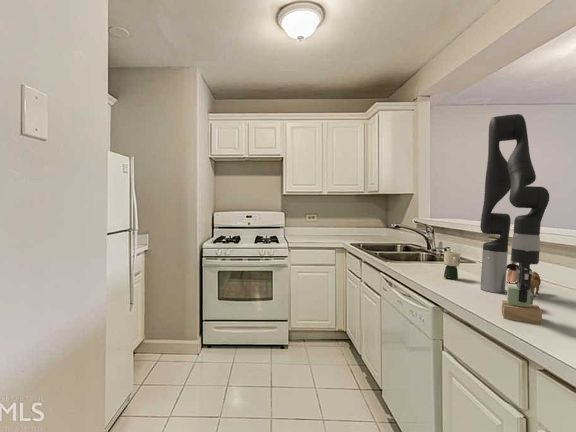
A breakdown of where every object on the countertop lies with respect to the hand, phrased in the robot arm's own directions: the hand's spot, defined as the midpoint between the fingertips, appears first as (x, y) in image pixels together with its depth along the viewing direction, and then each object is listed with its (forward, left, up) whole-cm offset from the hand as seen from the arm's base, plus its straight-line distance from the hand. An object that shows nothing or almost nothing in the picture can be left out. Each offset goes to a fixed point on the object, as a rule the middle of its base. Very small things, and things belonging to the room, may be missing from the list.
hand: (521, 300), depth 114 cm
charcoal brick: (-15, +3, -6) cm, 16 cm away
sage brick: (0, -1, -2) cm, 2 cm away
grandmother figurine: (-61, +3, -6) cm, 62 cm away
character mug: (-53, -23, -6) cm, 58 cm away
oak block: (0, 0, -6) cm, 6 cm away
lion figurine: (-41, +8, -6) cm, 42 cm away
